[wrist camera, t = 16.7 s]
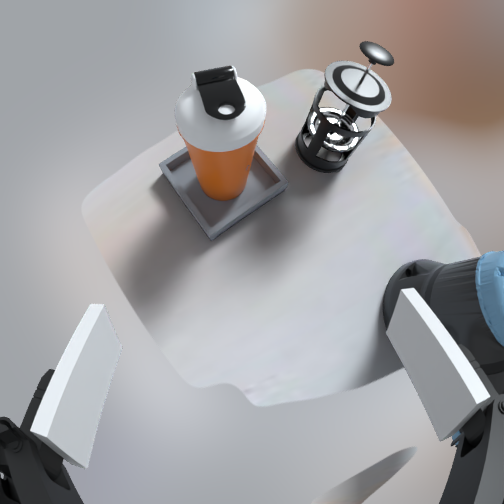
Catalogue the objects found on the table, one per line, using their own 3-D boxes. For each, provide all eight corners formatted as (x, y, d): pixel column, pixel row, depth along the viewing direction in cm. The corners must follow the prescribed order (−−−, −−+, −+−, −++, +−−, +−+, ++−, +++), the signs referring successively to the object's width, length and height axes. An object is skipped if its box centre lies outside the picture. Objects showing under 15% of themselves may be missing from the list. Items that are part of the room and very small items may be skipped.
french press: (323, 186, 43) (393, 94, 20) (281, 147, 44) (316, 38, 21) (362, 148, 45) (429, 64, 22) (323, 114, 46) (369, 19, 23)
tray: (285, 190, 42) (288, 182, 39) (211, 241, 40) (209, 236, 37) (233, 129, 44) (233, 119, 41) (162, 172, 41) (158, 164, 39)
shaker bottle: (206, 217, 40) (187, 141, 20) (185, 167, 41) (158, 75, 21) (263, 193, 41) (288, 107, 21) (238, 146, 42) (244, 49, 23)
